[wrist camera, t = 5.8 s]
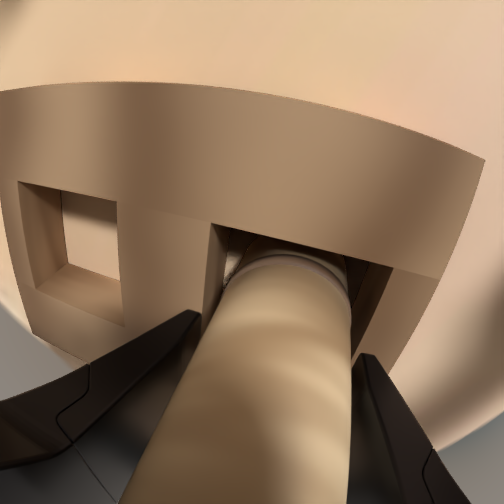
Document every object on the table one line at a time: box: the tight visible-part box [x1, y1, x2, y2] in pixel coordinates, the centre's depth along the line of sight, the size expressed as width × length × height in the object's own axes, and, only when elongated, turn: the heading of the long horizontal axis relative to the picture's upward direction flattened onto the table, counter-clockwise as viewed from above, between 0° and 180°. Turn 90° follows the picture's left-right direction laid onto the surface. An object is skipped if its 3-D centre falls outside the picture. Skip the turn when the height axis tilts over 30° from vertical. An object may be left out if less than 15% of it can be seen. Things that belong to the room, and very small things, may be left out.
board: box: [0, 82, 485, 374], centre depth 11 cm, size 16×12×2 cm
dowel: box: [118, 235, 351, 504], centre depth 7 cm, size 4×4×10 cm
